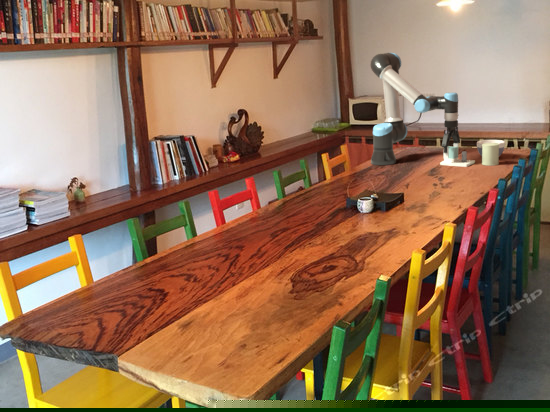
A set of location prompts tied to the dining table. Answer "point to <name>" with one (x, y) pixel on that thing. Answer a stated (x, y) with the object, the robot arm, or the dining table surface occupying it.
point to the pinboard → (460, 161)
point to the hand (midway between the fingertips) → (451, 156)
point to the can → (490, 154)
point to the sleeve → (452, 154)
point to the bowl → (500, 142)
